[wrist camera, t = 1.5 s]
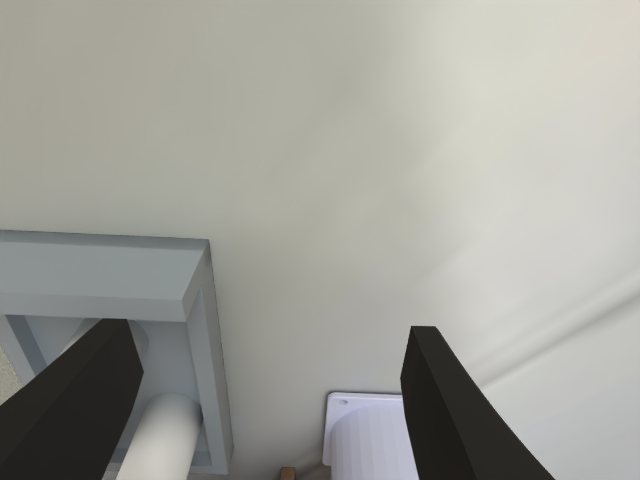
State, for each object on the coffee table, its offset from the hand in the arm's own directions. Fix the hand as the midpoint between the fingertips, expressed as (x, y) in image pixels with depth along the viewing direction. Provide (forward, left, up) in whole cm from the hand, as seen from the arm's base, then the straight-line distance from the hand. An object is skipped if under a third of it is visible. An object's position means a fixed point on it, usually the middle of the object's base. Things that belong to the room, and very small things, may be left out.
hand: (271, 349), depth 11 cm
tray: (+10, +12, -10) cm, 18 cm away
